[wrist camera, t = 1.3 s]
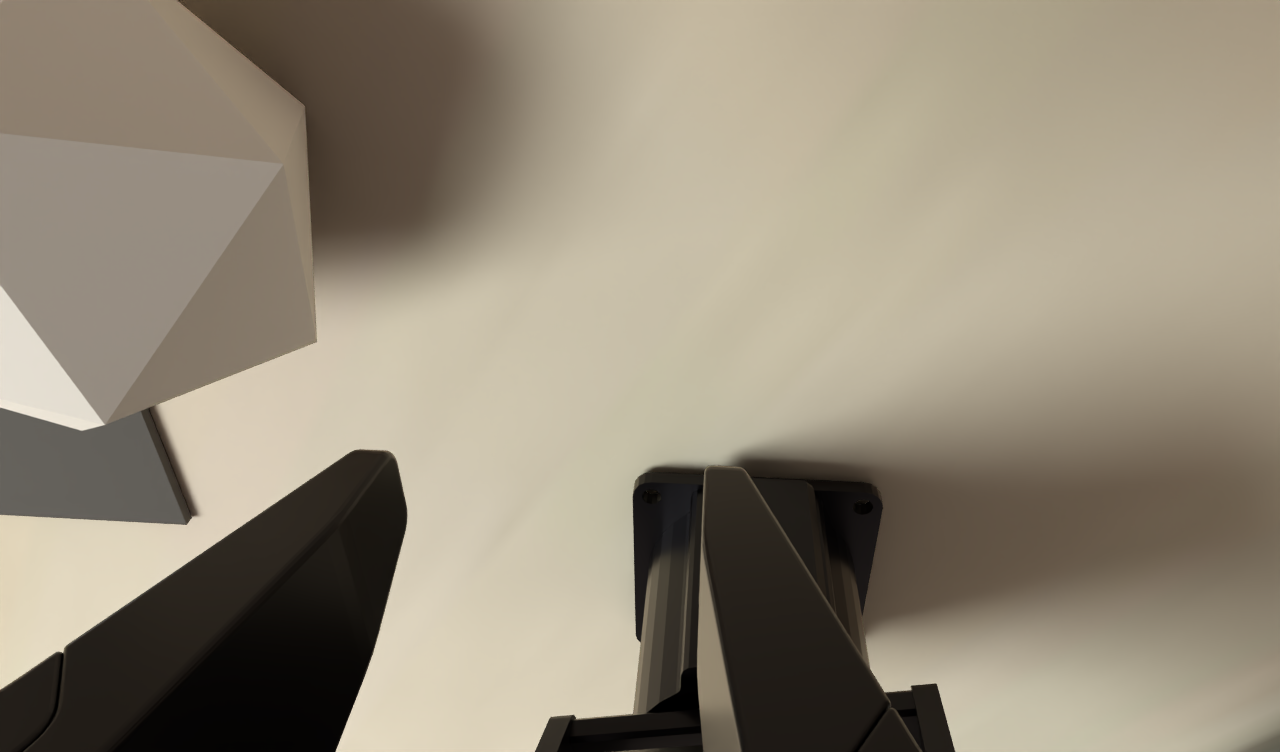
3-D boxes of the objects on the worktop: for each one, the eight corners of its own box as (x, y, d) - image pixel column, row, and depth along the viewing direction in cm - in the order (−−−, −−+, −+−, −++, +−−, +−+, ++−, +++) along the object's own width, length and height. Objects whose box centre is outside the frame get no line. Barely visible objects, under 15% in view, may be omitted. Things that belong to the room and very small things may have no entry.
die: (23, 232, 22) (41, 588, 17) (-361, -85, 14) (-497, 404, 10) (336, 120, 23) (430, 435, 18) (131, -239, 15) (208, 153, 11)
